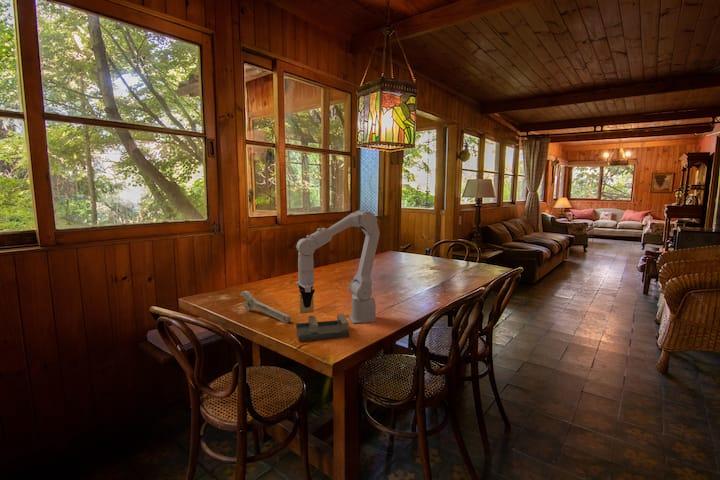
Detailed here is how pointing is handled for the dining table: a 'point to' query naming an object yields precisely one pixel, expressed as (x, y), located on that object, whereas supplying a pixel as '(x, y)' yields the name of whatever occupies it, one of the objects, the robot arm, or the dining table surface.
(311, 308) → the brass block
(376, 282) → the dining table surface
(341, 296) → the dining table surface
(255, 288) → the dining table surface
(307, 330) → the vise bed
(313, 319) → the bar
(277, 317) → the wrench
